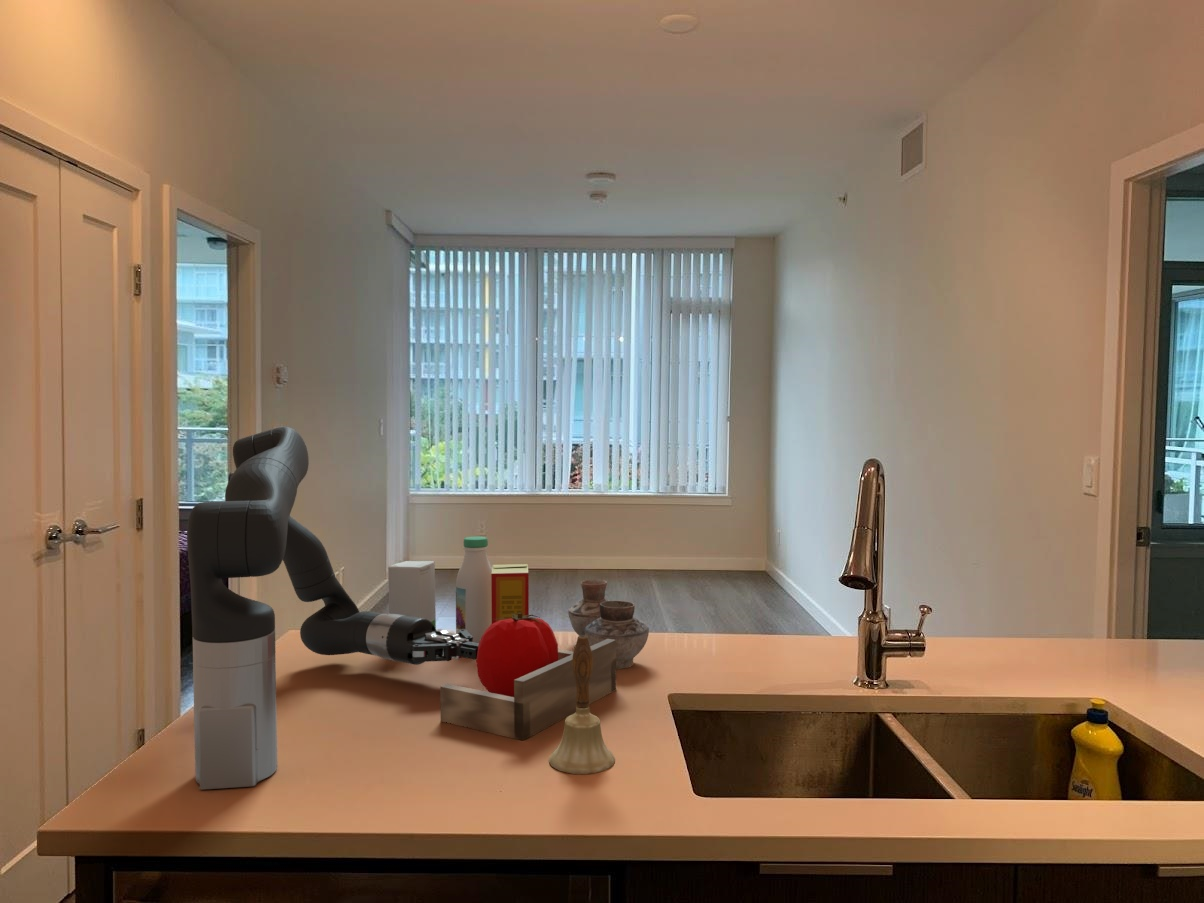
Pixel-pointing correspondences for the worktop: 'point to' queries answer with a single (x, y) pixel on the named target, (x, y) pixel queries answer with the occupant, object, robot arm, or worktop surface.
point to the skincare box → (413, 589)
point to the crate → (530, 696)
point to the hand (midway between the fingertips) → (483, 652)
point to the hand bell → (582, 724)
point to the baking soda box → (509, 590)
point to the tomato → (514, 651)
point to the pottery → (608, 622)
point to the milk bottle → (474, 589)
